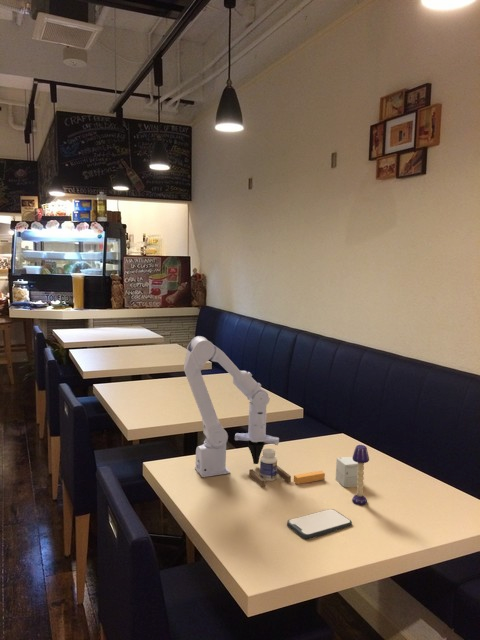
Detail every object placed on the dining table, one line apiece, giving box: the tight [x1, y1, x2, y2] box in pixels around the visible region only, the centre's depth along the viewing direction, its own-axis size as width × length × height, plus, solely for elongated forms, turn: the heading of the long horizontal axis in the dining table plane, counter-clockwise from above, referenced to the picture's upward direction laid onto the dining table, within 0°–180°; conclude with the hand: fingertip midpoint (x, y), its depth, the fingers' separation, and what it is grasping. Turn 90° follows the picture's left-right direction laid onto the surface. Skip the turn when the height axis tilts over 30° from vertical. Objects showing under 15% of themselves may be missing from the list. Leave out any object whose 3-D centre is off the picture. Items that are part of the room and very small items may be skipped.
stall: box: [248, 465, 292, 488], centre depth 162 cm, size 10×9×2 cm
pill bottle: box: [259, 448, 278, 482], centre depth 162 cm, size 5×5×9 cm
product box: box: [335, 456, 358, 488], centre depth 160 cm, size 6×6×7 cm
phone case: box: [286, 508, 353, 541], centre depth 134 cm, size 9×2×16 cm
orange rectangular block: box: [293, 470, 326, 485], centre depth 161 cm, size 10×2×2 cm, turn 114°
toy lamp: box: [351, 444, 370, 506], centre depth 147 cm, size 5×5×17 cm
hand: (256, 462), depth 171 cm, fingers closed
